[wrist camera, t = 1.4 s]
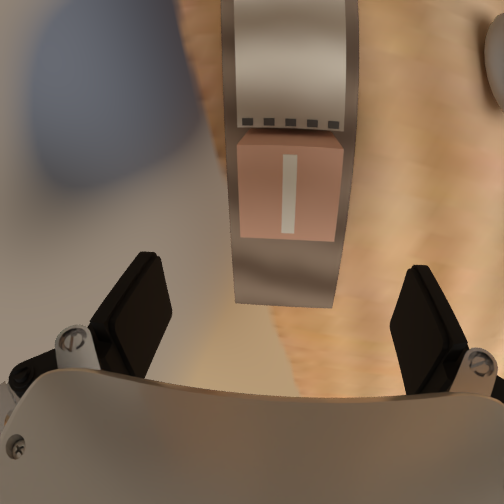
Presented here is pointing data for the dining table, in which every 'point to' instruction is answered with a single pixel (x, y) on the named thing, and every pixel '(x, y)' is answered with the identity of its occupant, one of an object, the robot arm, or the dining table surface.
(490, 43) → the donut
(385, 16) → the dining table surface
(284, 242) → the board
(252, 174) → the taped shipping carton
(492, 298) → the dining table surface
